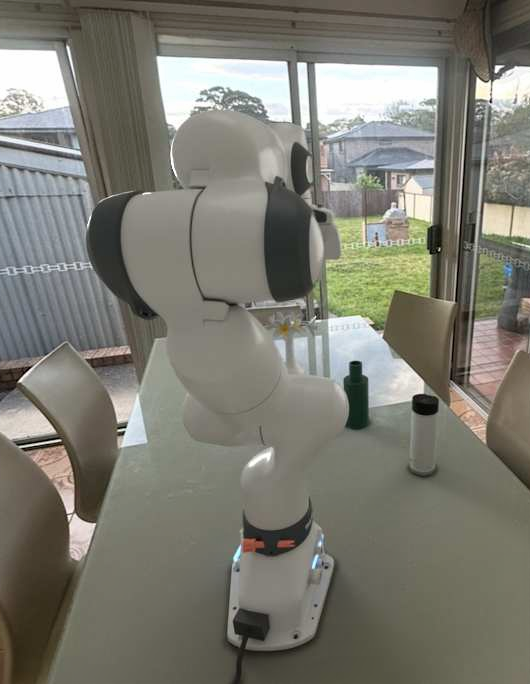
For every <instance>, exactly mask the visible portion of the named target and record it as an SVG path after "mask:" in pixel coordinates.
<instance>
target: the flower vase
mask: <svg viewBox="0 0 530 684" xmlns="http://www.w3.org/2000/svg"><path fill="white" fill-rule="evenodd" d="M304 317H305V315H304V313H302V312H299V313H298V314H297V315H296V314H295V312H294V311H292V310H290V311H289V314H287V315H285V316H284V314H283V313H282V312H281V311H278V312H276V318H277V319H275V314H273V315H272V316H271V315H270V316H269V317H268V321H267V323H268V324H266V325H265V326H264V328H265V329H266V330H267V331H268V332H269V331H271V330H272V329H274V328H275V330H274V331H273V333H272V336H273V337H275V338H277V337H280V336H281V337H282V340H283V341H284V356H285V357H284V360H283V361H284V363H285V365H286V367H287V370H288V373H289V375H304V374H306V370H305V368H304V367H303V366H302V364H300V363H299V362H298V361H297V358H296V354H295V344H294V341H295V340H294V338H295V333H296V332H297V334H299V335H300V336H301V337H304V334H303V333H306V332H307V331H306V329H305V328H304V327H307V329H308V331H309V334H311V336H312V338H313V339H314V338H315V331H316V330H318V328H319V327H318V324H317V323H315V322H316V321H317V315H314V317H312V318H311V319H310V320H309V321H308V320H305V319H304ZM303 319H304V320H303ZM291 325H292V326H291Z"/></svg>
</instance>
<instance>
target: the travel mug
mask: <svg viewBox="0 0 530 684" xmlns="http://www.w3.org/2000/svg"><path fill="white" fill-rule="evenodd" d="M439 405H440V399H439V398H438V397H437V396H435V395H430V394H426V393H416V394H413V396H412V398H411V415H410V416H411V417H410V445H409V447H410V449H409V469H410V471H411V472H412V473H413V474H414V475H418V476H423V477H424V476H429V475H432V474H433V473H434V472H435V471H436V462H437V447H438V445H437V444H438V427H439V411H440V409H439V408H440V406H439Z"/></svg>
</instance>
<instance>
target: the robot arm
mask: <svg viewBox="0 0 530 684" xmlns="http://www.w3.org/2000/svg"><path fill="white" fill-rule="evenodd" d="M170 160H171V166H172V169H173V173H174V175H175V178H176V180H177V182H178V183H179V185H180V186H181V187H182V189H169V190H168V189H167V190H159V191H151V192H146V191H143V190H140V189H139V190H130V191H125V192H122V193H116V194H113V195H110V196H108V197H105V198H103V199H101V200H99V201H98V202H97V203H96V205H95V206H94V208H93V210H92V212H91V214H90V216H89V219H88V221H87V225H86V231H85V247H86V252H87V256H88V260H89V263H90V265H91V267H92V269H93V271H94V273H95V274H96V276H97V277H98V278H99V280H100V281H101V282H102V283H103V284H104V286H106V287H107V289H108V290H109V291H110V292H111V293H112V294H113V295H114V296H115V297H116V298H117V299H118V300H120V301H122V302H123V303H125V304H127V305H128V306H129V308H130V310H131V312H132V314H133V315H135V317H138V318H140V319H142V320H145V321H153V320H155V319H157V318H159V317H161V318H162V320H164V322H165V324H166V329H167V330H166V331H167V332H166V339H165V352H166V356H167V360H168V362H169V364H170V367H171V369H172V371H173V373H174V374H175V376H176V378H177V380H178V381H179V382H180V384H181V385H182V387H183V388H184V389H185V390H186V392H187V393H186V395H185V397H184V400H183V403H182V407H181V418H182V423H183V426H184V428H185V430H186V432H187V433H188V435H189V436H190V437H191V438H192V439H193V440H194V441H195V442H199V443H204V444H210V445H215V446H222V447H249V446H250V447H251V446H252V447H253V446H254V447H255V446H268V447H267V448H265V449H263V450H262V451H259V452H258V453H256V454H255V455H254V456H253V457H252V458H251V459H250V460H249V461H248V462H247V463H246V464H245V466H244V468H243V469H242V472H241V474H240V481H239V482H240V490H241V496H242V503H243V508H242V518H241V529H240V530H239V535H240V536H239V537H240V545H239V547H238V548H237V550H236V552H235V554H234V556H233V562H232V564H231V573H230V574H231V575H230V589H229V603H228V618H227V634H226V635H227V641H228V642H229V643H231V644H232V645H233V646H235V647H238V648H239V649H238V653H237V657H236V660H235V661H236V662H235V676H234V678H233V681H232V684H239V683H240V681H241V677H242V671H243V668H242V667H243V666H242V664H243V657H244V653H245V650H247V651H255V652H274V651H275V652H276V651H284V650H289V649H293V648H296V647H300V646H302V645H304V644H306V643H308V642H309V641H311V640H313V638H314V637H315V635H316V633H317V630H318V626H319V623H320V619H321V616H322V611H323V608H324V605H325V602H326V597H327V594H328V590H329V587H330V583H331V580H332V575H333V573H334V568H335V560H334V558H333V557H332V556H330V555H329V554H327V553H325V547H324V546H325V545H324V534H323V529H322V527H320V526H319V524H318V523H317V522H316V521H315V520H314V516H313V515H314V514H313V513H314V508H313V503H312V499H311V498H310V497H311V496H310V495H309V474H310V468H311V465H312V462H313V460H314V459H315V457H316V456H317V455H318V453H319V452H320V451H321V450H322V449H323V448H324V447H325V446H326V445H328V444H329V443H330V442H332V441H334V440H336V439H337V438H338V437H339V436H340V435H341V434H342V432H343V430H344V429H345V427H346V423H347V420H348V415H349V403H348V398H347V395H346V393H345V391H344V387H343V386H342V385H341V384H340V382H339V381H338V380H337V379H334V378H330V377H325V376H320V375H319V376H318V375H313V374H306V373H305V374H304V375H289V373H288V370H287V367H286V365H285V363H284V361H285V360H284V359H283V357H282V354H281V352H280V350H279V347H278V346H277V344H276V342H275V341H274V338H272V336H271V334H270V333H269V331H267V329H265V328H264V327H265V326H264V325H263V324H262V322H260V320H258V318H257V317H256V316H255V315H253V314H252V312H250V311H249V310H247V308H246V304H252V303H260V302H267V301H274V302H275V303H277V304H279V303H285V302H290V301H295V300H299V299H302V298H305V297H308V296H309V294H311V292H312V291H313V290H314V288H315V287H316V284H317V282H321V280H322V277H321V275H322V274H321V273H322V271H323V270H324V268H325V266H326V261H330V260H331V261H337V260H339V259H340V258H341V257H342V243H341V242H342V241H341V235H340V230H339V227H338V226H337V224H336V223H335V222H334V220H335V213H334V211H333V210H332V209H329V208H325V207H322V206H321V205H317V204H313V202H312V201H313V199H312V192H311V187H312V186H314V184H315V176H314V156H313V154H312V153H311V152H310V151H309V148H308V141H307V136H306V131H305V129H304V127H303V126H302V125H300V124H298V123H294V122H290V121H274V122H270V123H268V124H266V123H264V122H263V121H261V120H260V119H257V118H256V117H253V116H251V115H249V114H247V113H245V112H241V111H237V110H232V109H223V108H221V109H220V108H219V109H209V110H205V111H201V112H197V113H195V114H193V115H191V116H190V117H188V118H187V119H185V121H183V122H182V124H180V126H179V127H178V128H177V130H176V132H175V133H174V136H173V139H172V141H171V147H170Z"/></svg>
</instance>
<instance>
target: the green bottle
mask: <svg viewBox="0 0 530 684" xmlns="http://www.w3.org/2000/svg"><path fill="white" fill-rule="evenodd" d="M342 380H343V389H344V391H345V393H346V395H347V398H348V403H349V415H348V420H347V423H346V425H345V427H347V428H349V429H353V430H360V429H364V428H366V427H367V426H368V425H369V423H370V421H369V420H370V419H369V418H370V415H369V412H370V411H369V410H370V409H369V408H370V407H369V405H370V404H369V377H368V376H366V375H364V374H363V362H362V361H361V360H351V361H349V363H348V374H347V375H345V376H344V378H343V379H342Z"/></svg>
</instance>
